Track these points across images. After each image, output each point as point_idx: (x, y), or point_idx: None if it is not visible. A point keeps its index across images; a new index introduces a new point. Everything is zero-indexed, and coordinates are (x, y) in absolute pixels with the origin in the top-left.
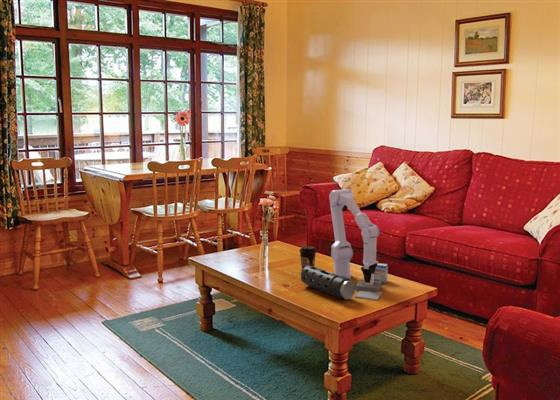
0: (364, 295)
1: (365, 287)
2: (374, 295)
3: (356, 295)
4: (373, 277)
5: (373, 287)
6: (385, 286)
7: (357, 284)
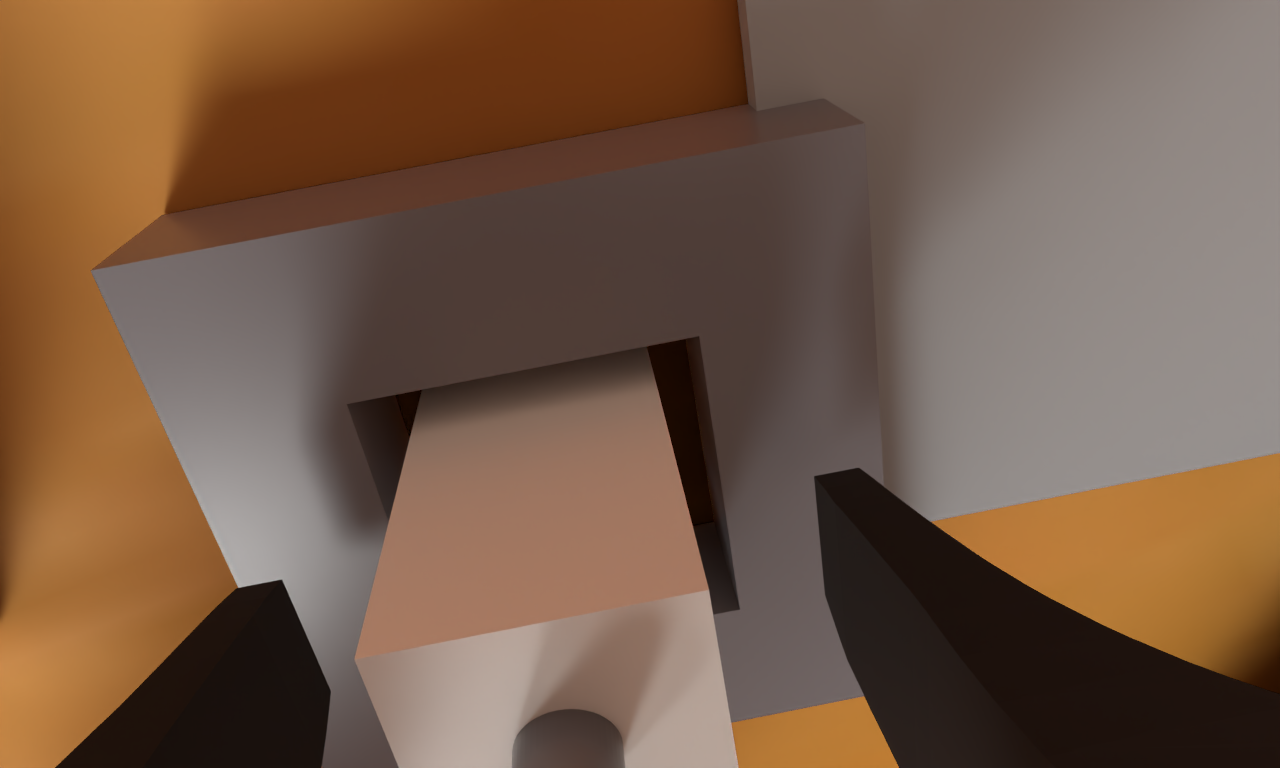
0: (1220, 295)
1: (876, 468)
2: (1141, 61)
3: (1265, 446)
4: (435, 549)
5: (845, 268)
6: (20, 128)
7: (792, 696)
